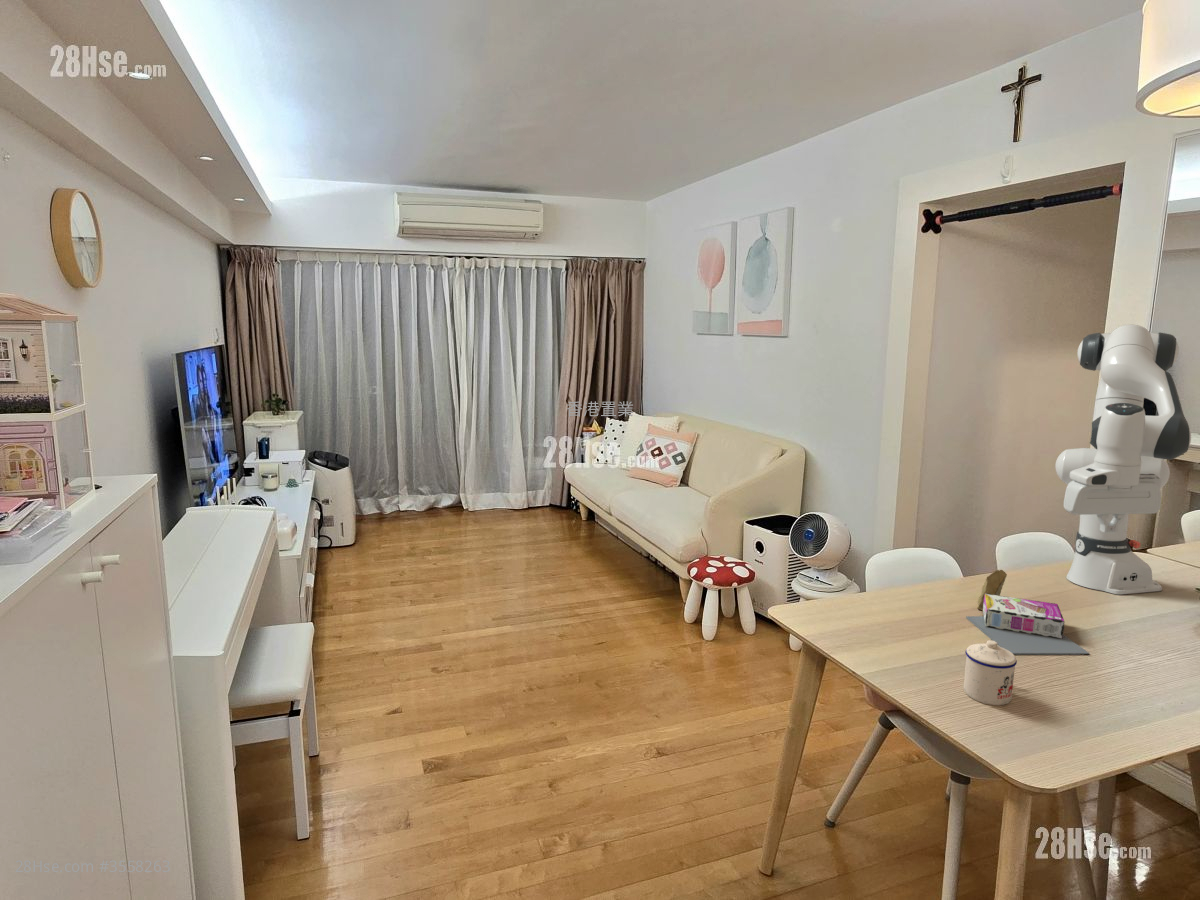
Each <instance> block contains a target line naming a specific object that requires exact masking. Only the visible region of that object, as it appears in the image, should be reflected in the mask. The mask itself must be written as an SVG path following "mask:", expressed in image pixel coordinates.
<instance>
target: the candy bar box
mask: <svg viewBox="0 0 1200 900" xmlns="http://www.w3.org/2000/svg"><path fill="white" fill-rule="evenodd" d="M982 613H983V616H984V621H985V627H992V628H998V629H1004V630H1010V631H1017V632H1023V633H1029V634H1036V635H1042V636H1048V637H1054V638H1060V639H1062V638H1063V635H1064V631H1065V623H1066V622H1065V620H1064V617H1063V614H1062V612H1061V609H1060V606H1059V605H1058V603H1055V602H1046V601H1039V600H1031V599H1025V598H1018V597H1010V596H1005V595H1000V596H998V595H991V594H985V595H984V603H983V611H982Z"/></svg>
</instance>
